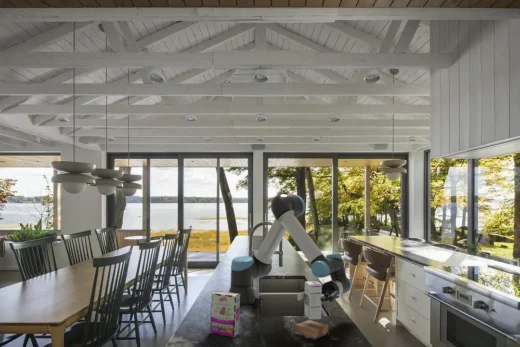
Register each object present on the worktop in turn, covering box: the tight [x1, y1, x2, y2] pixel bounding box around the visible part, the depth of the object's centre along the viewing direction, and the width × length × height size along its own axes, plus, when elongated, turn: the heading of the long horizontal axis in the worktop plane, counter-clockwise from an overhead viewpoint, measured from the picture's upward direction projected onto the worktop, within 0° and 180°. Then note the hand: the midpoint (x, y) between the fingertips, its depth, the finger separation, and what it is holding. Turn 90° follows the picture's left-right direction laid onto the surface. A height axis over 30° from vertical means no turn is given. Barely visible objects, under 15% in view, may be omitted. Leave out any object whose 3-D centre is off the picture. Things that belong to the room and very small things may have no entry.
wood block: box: [294, 319, 330, 338], centre depth 153 cm, size 10×10×4 cm
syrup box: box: [303, 280, 323, 320], centre depth 154 cm, size 6×6×14 cm
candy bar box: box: [209, 290, 241, 338], centre depth 150 cm, size 11×5×16 cm, turn 69°
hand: (307, 298), depth 151 cm, fingers closed on syrup box, 8 cm apart
